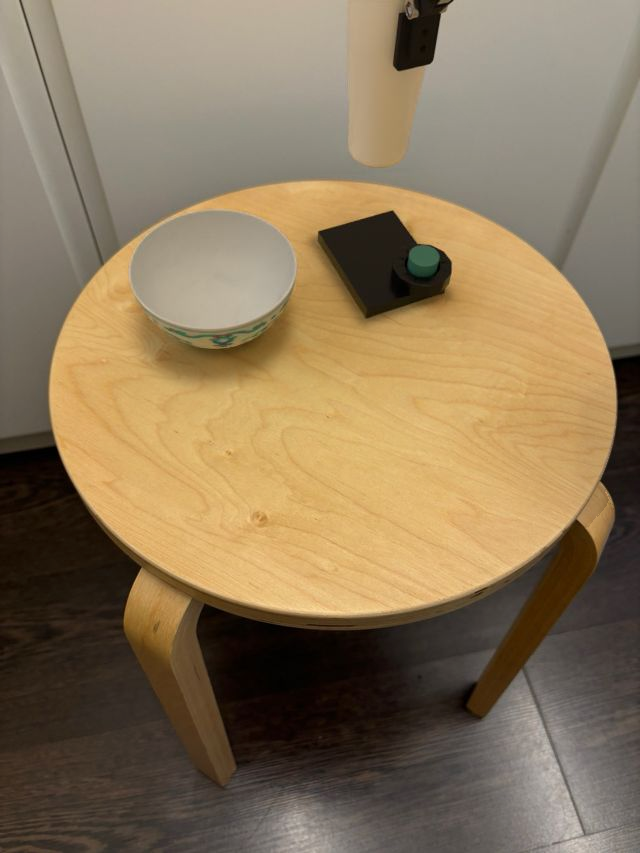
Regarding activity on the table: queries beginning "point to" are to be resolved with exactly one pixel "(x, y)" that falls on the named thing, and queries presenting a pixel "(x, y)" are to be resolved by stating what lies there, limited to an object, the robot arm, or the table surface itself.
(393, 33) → the white tall cup
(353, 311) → the table surface
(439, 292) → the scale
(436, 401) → the table surface
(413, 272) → the tare button
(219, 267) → the chinaware
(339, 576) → the table surface
